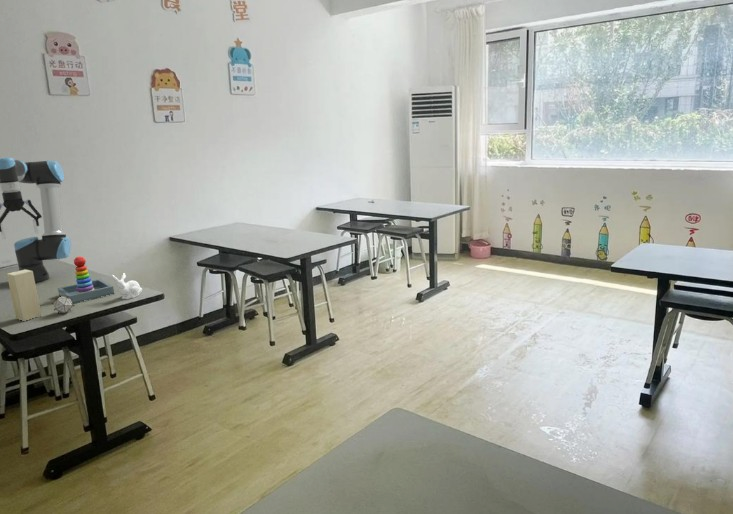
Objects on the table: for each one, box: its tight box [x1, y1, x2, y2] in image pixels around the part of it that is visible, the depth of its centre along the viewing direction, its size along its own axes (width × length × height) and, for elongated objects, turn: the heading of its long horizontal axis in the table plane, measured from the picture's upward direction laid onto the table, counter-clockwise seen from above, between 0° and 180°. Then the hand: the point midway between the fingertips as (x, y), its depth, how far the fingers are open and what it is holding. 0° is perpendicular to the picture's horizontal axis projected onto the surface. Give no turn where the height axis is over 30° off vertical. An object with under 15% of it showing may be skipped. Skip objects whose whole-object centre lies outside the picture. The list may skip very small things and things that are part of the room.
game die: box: [51, 295, 76, 315], centre depth 244 cm, size 9×8×10 cm
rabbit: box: [111, 272, 143, 300], centre depth 263 cm, size 12×9×12 cm
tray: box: [57, 278, 115, 305], centre depth 270 cm, size 20×20×4 cm
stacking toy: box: [73, 256, 95, 294], centre depth 268 cm, size 8×8×19 cm
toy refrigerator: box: [6, 270, 42, 322], centre depth 239 cm, size 8×7×21 cm
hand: (20, 235), depth 260 cm, fingers open, 13 cm apart
